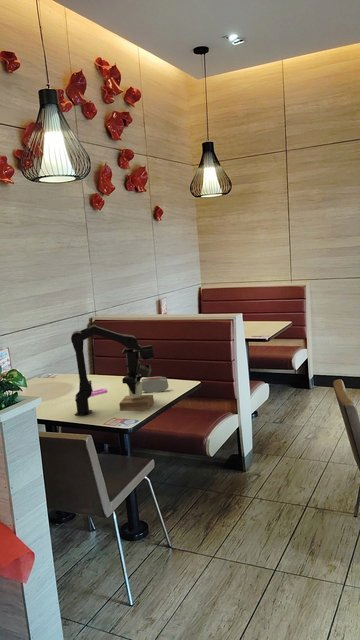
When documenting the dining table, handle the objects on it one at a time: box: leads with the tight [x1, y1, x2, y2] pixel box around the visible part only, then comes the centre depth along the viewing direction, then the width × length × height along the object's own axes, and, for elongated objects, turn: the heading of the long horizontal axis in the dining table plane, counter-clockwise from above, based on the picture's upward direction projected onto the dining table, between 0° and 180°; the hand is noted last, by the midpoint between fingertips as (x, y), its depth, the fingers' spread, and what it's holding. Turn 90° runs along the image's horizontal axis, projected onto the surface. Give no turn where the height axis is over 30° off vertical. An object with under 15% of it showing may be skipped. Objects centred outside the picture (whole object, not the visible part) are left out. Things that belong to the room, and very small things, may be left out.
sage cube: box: [128, 381, 143, 397], centre depth 249 cm, size 5×5×6 cm
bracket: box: [89, 388, 108, 398], centre depth 278 cm, size 13×6×7 cm, turn 122°
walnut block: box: [119, 394, 155, 411], centre depth 250 cm, size 12×14×4 cm
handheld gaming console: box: [140, 376, 169, 394], centre depth 272 cm, size 14×3×8 cm, turn 88°
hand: (135, 392), depth 250 cm, fingers closed on sage cube, 5 cm apart
